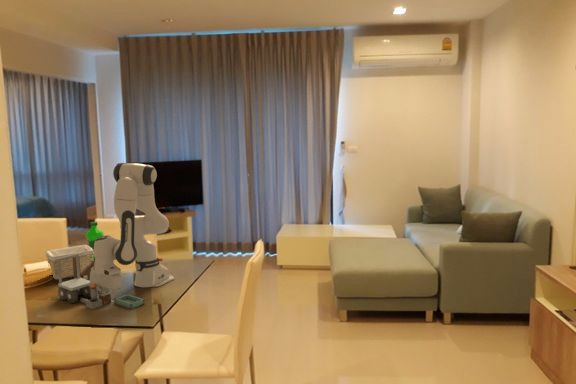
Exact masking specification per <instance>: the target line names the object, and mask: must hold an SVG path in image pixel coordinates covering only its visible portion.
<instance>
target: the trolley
mask: <svg viewBox="0 0 576 384" xmlns="http://www.w3.org/2000/svg"><path fill="white" fill-rule="evenodd" d="M73 257H76V265H77V278H76V279H74V278H73V279H69V280H65V281H63V280H62V279H63V278H62V276H61V261H60V260H64V259H68V258H73ZM57 261H58V275H59V279H58V284H57V286H58V289H57V292H58V296H59V298H60V300H61V301H67V302H68V303H69V304H74V303H77V302H78V301H79V299H80V303H82V304H84V305H85V307H86V308H89V309H91V310H94V309H97V308H100V307H103V304H102V300H101V299H99V297H97V301H95V302H91V290H90V287H89V285H90V284H91V283H90V281H89V280H88V279H84V277H81V278H80V268H79V254H75V255H71V256H66V257H62V258H58V259H57ZM82 295H83V297H80V298H79V296H82ZM88 298H90V299H88Z"/></svg>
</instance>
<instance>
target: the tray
mask: <svg viewBox="0 0 576 384" xmlns="http://www.w3.org/2000/svg"><path fill="white" fill-rule="evenodd" d="M115 303H116V304H115ZM114 304H115V305H118V304H119V305H118V306H120V305H121V306H120V307H124V308H126V309H129V310H133V309H136V308H138V307H140V305H141V306H143V305H142V304H144V305H145V299H144V298H142V297H138V296H135V295H132V294H129V293H127V294H124V295H122V296H117V297H115V298H114Z"/></svg>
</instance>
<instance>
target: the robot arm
mask: <svg viewBox="0 0 576 384" xmlns="http://www.w3.org/2000/svg"><path fill="white" fill-rule="evenodd" d="M112 174H113V179H114V181H115V182H116V185H115V190H114V197H113V207H114V213H115V215H116V217H117V219H118V221H119V223H120V224H119V227H120V239H119V238H115V237H113V236H111V235H110V234H109V235H108V234H107V235H103V236H101V237H99V238H97V239H96V240H95V243H94V256H95V261H94V266H93V267H92V268H91V272H90V283H91V284H97V287H96V294H97V295H99V294H102V293H103V290H102V289H101V288H103V289H108V290H110V294H109V297H111V299H112V298H114V297H115V293H116V292H117V290H120V289H121V288H122V276H121V272H122V270H121V268H120V267H119V266H117V265H116V264H115V262H114V261H116V262H117V263H118V264H120V265H123V266H129V265H132V264H133V263H134V262H135V278H134V284H133V285H134V286H135V287H139V288H152V287H153V288H155V287H156V288H157V287H160V286H162V285H165V284H167V283H169V282H171V281H173V280H175V277H174V276H173V275H171V274H170V271H169V269H168V267H166V266H165V265H163V264H161V263H162V262H163V260H164V258H162V257H158V256H157V245H156V243H155V242H153V241H152V240H149V239H147V238H145V237H144V236H151V235H160V234H164V233H166V232H167V231H168V229H169V227H170V222H169V219H168V218H167V216H166V215H164V213H163V214H162V213H161V211H159V209H158V208H157V206H156V201H155V200H156V199H155V188H154V184H155V183H156V180H157V176H158V172H157V170H156V168H155V167H154V166H153V165H150V164H143V163H137V162H136V163H129V162H127V163H125V162H120V163H117V164H116V165H115V166H114V168H113V173H112ZM137 211H140V212H142V213H144V214H143V215H136V214H137ZM160 262H161V263H160Z"/></svg>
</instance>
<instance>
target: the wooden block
mask: <svg viewBox="0 0 576 384" xmlns="http://www.w3.org/2000/svg"><path fill="white" fill-rule="evenodd" d="M93 266H95V261H92V262H91V263H90V264H89V265H88V266H87V268H86V269H85V270H84V271H83V272H82V273H81V270H80V278H82V277H83V276H85V275H87V277H88V279H87V280H89V281H90V272H91V268H92V267H93ZM79 268H80V256H79ZM73 274H74V276H73V279H76V278H77V265H76V257H73Z"/></svg>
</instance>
